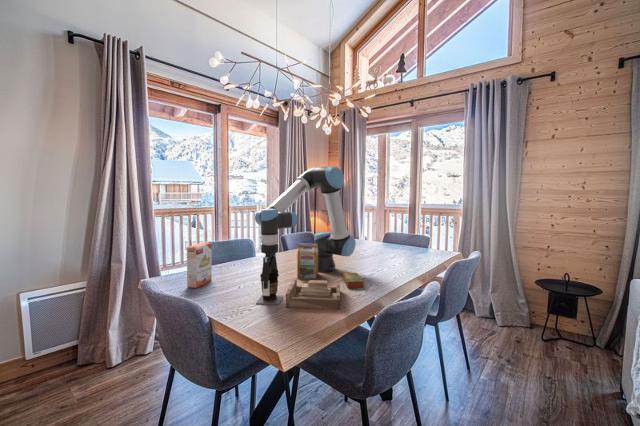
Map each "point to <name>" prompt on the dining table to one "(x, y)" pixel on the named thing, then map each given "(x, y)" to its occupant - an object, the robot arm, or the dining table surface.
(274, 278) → the coffee cup
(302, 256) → the milk carton
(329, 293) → the offcut stack
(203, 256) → the cracker box
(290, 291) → the brown wooden tray
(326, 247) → the robot arm
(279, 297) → the coaster
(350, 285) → the carton
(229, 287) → the dining table surface
